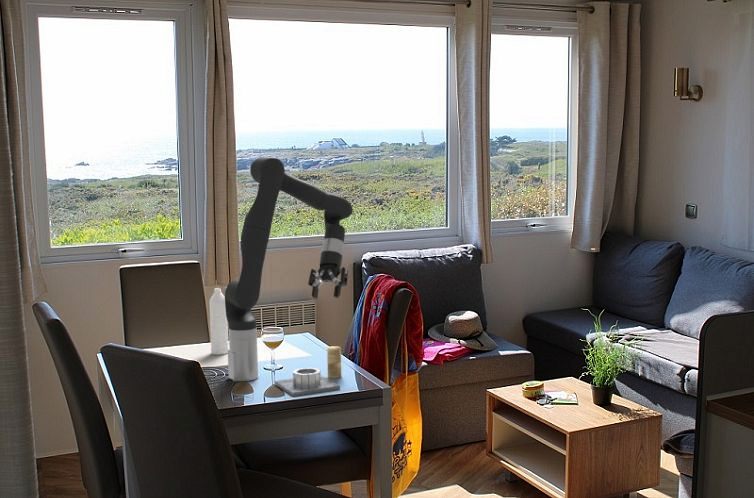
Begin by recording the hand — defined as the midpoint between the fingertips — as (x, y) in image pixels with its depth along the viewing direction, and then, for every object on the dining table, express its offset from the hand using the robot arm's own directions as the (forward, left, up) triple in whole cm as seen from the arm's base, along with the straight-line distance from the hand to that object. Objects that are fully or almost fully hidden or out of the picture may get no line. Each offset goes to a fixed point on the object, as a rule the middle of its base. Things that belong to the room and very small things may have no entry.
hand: (325, 297), depth 297 cm
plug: (-1, -8, -26) cm, 27 cm away
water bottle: (-23, +46, -26) cm, 58 cm away
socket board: (-14, -15, -26) cm, 33 cm away
